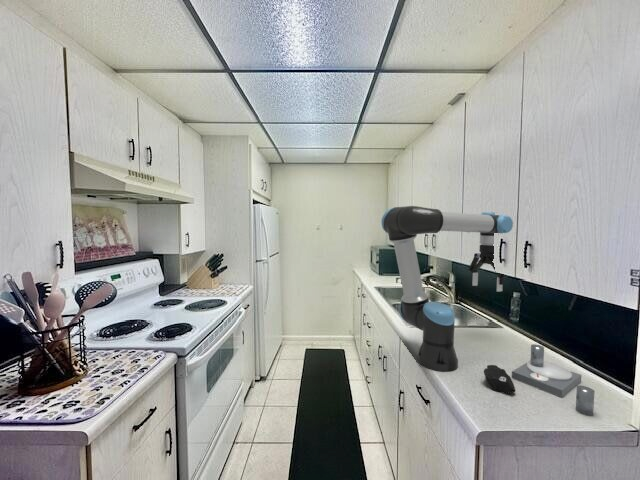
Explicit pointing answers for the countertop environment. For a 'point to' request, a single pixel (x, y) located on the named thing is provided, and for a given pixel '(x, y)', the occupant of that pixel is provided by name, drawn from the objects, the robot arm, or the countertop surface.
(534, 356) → the cylinder
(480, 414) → the countertop surface
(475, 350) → the countertop surface
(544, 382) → the scale
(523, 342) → the countertop surface
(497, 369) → the rock
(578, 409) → the cylinder
